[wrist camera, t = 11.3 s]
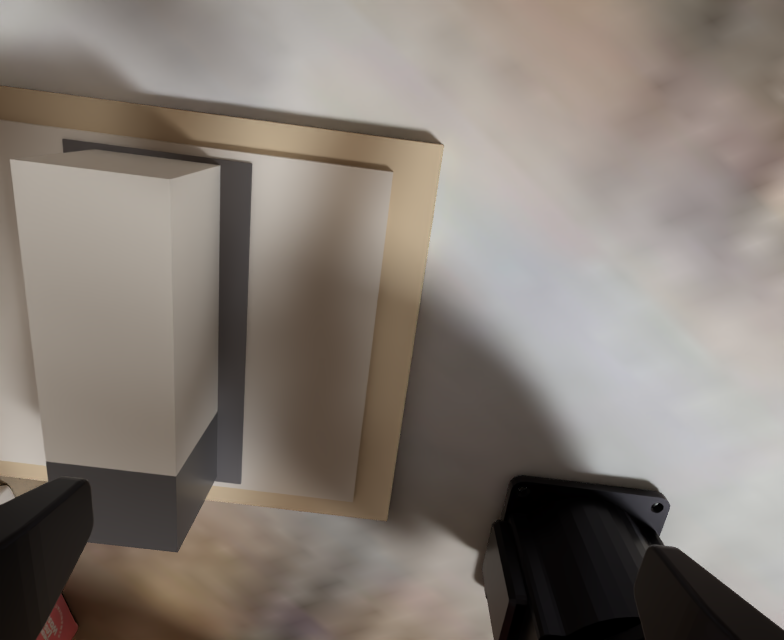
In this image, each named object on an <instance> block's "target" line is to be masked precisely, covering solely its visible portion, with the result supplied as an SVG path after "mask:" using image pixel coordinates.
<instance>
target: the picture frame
mask: <svg viewBox="0 0 784 640" xmlns="http://www.w3.org/2000/svg"><path fill="white" fill-rule="evenodd" d="M443 148H444V145H443V144H436V143H428V142H421V141H413V140H406V139H398V138H391V137H383V136H376V135H368V134H361V133H353V132H346V131H338V130H331V129H323V128H316V127H308V126H301V125H293V124H286V123H278V122H271V121H263V120H256V119H248V118H241V117H233V116H226V115H218V114H211V113H203V112H196V111H188V110H181V109H173V108H166V107H158V106H151V105H143V104H136V103H128V102H121V101H113V100H106V99H98V98H91V97H83V96H76V95H68V94H60V93H53V92H45V91H38V90H30V89H23V88H15V87H8V86H0V476H7V477H16V478H24V479H33V480H41V481H48V476H47V467H46V459H45V451H44V442H43V434H42V426H41V417H40V409H39V400H38V392H37V384H36V375H35V367H34V358H33V350H32V342H31V333H30V325H29V316H28V308H27V300H26V291H25V283H24V275H23V266H22V258H21V249H20V241H19V233H18V224H17V216H16V207H15V199H14V191H13V182H12V174H11V165H10V159H15V158H24V157H32V156H41V155H49V154H58V153H67V152H75V151H84V150H92V149H97V150H104V151H112V152H120V153H128V154H136V155H144V156H151V157H159V158H167V159H175V160H183V161H191V162H199V163H206V164H214V165H220V242H219V332H218V421H217V478H216V480H215V481H214V483H213V485H212V487H211V489H210V491H209V493H208V495H207V497H206V499H205V500H211V501H219V502H228V503H236V504H245V505H253V506H262V507H270V508H279V509H287V510H296V511H304V512H313V513H321V514H329V515H338V516H346V517H355V518H363V519H372V520H380V521H387V517H388V511H389V504H390V498H391V491H392V484H393V478H394V471H395V465H396V458H397V452H398V445H399V438H400V432H401V425H402V419H403V412H404V405H405V399H406V392H407V386H408V379H409V372H410V366H411V359H412V353H413V346H414V339H415V333H416V326H417V320H418V313H419V307H420V300H421V293H422V287H423V280H424V274H425V267H426V260H427V254H428V247H429V241H430V234H431V227H432V221H433V214H434V208H435V201H436V194H437V188H438V181H439V175H440V168H441V162H442V155H443Z"/></svg>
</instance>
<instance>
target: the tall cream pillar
mask: <svg viewBox="0 0 784 640" xmlns="http://www.w3.org/2000/svg"><path fill="white" fill-rule="evenodd" d="M10 165H11V174H12V182H13V191H14V199H15V207H16V216H17V224H18V233H19V241H20V249H21V258H22V266H23V275H24V283H25V291H26V300H27V308H28V316H29V325H30V333H31V342H32V350H33V358H34V367H35V375H36V384H37V392H38V400H39V409H40V417H41V426H42V434H43V442H44V451H45V459H46V467H47V476H48V482H49V481H52V480H54V479H56V478H58V477H62V476H67V477H76V478H84V479H86V480H88V481H89V483H90V485H91V492H92V504H93V516H94V524H93V529H92V532H91V535H90V537H89V539H88V541H87V542H91V543H99V544H108V545H117V546H126V547H135V548H144V549H153V550H161V551H170V552H178V551H179V549H180V547H181V545H182V543H183V541H184V539H185V537H186V535H187V533H188V531H189V530H190V528H191V526H192V524H193V522H194V520H195V518H196V516H197V514H198V512H199V510H200V508H201V506H202V505H203V503H204V501H205V499H206V497H207V495H208V493H209V491H210V489H211V487H212V485H213V483H214V481H215V480H216V478H217V421H218V332H219V242H220V165H214V164H206V163H199V162H191V161H183V160H175V159H167V158H159V157H151V156H144V155H136V154H128V153H120V152H112V151H104V150H97V149H92V150H84V151H75V152H67V153H58V154H49V155H41V156H32V157H24V158H15V159H10Z"/></svg>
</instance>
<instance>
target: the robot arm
mask: <svg viewBox="0 0 784 640" xmlns="http://www.w3.org/2000/svg"><path fill="white" fill-rule="evenodd" d="M520 487H527V488H526V489H525V490H523V491H519V490H518V488H520ZM655 503H658V505H656V506H652V505H653V504H655ZM669 509H670V504H669V502H668V500H667V499H666V497H665V496H664V495H663V494H662V493H660V492H657V491H649V490H640V489H632V488H624V487H616V486H607V485H599V484H591V483H582V482H574V481H566V480H557V479H549V478H541V477H533V476H524V475H522V476H517V477H514V478H513V479H512V480H511V481H510V483H509V487H508V491H507V495H506V499H505V503H504V507H503V512H502V516H501V520H497V521H496V522H495V523H494V524H493V525H492V528H491V533H490V537H489V541H488V545H487V550H486V554H485V558H484V562H483V567H482V571H483V577H484V583H485V586H484V589H485V595H486V598H487V601H488V607H489V613H490V619H491V625H492V631H493V637H494V640H784V630H783V629H781V628H780V627H779V626H778V625H776V624H775V623H774V622H772V621H771V620H770V619H769V618H767V617H766V616H765V615H763V614H762V613H761V612H760V611H758V610H757V609H756V608H754V607H753V606H752V605H751V604H749V603H748V602H747V601H745V600H744V599H743V598H742V597H740V596H739V595H738V594H736V593H735V592H734V591H732V590H731V589H730V588H729V587H727V586H726V585H725V584H723V583H722V582H721V581H720V580H718V579H717V578H716V577H714V576H713V575H712V574H711V573H709V572H708V571H707V570H705V569H704V568H703V567H702V566H700V565H699V564H698V563H696V562H695V561H694V560H692V559H691V558H690V557H689V556H687V555H686V554H685V553H683V552H682V551H681V550H679V549H678V548H676V547H671V546H664V544H663V542H662V541H661V539H660V537H659V536H660V533H661V531H662V528H663V525H664V523H665V520H666V517H667V515H668V512H669ZM93 524H94V516H93V504H92V492H91V485H90V483H89V481H88V480H86V479H84V478H76V477H67V476H62V477H58V478H56V479H54V480H52V481H49V482H47V483H45V484H43V485H41V486H39V487H37V488H35V489H33V490H31V491H28V492H26V493H24V494H22V495H20V496H18V497H16V498H14V499H12V500H9V501H7V502H5V503H3V504H1V505H0V640H36V639H37V637H38V636H39V634H40V632H41V631H42V629H43V627H44V625H45V623H46V622H47V620H48V618H49V616H50V614H51V612H52V610H53V608H54V606H55V604H56V602H57V600H58V598H59V597H60V595H61V593H62V591H63V589H64V587H65V585H66V583H67V581H68V579H69V577H70V575H71V573H72V571H73V569H74V567H75V565H76V563H77V561H78V559H79V557H80V555H81V553H82V551H83V549H84V547H85V545H86V543H87V541H88V539H89V537H90V535H91V532H92V529H93Z"/></svg>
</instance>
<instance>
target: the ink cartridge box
mask: <svg viewBox="0 0 784 640" xmlns="http://www.w3.org/2000/svg"><path fill="white" fill-rule="evenodd" d="M14 498H15V496H14V494H13V492H12V490H11V489H10V487H9V486H7V485H4V486H0V505H1V504H3V503H5V502H7V501H9V500H12V499H14ZM77 630H78V625H77V624H76V622H75V620H74V619H73V617H72V615H71V613H70V611H69V608H68V606H67V604H66V602H65V600H64V598H63V596H62V594H61V595H60V597H59V598H58V600H57V602H56V604H55V606H54V608H53V610H52V612H51V614H50V616H49V618H48V620H47V622H46V623H45V625H44V627H43V629H42V631H41V632H40V634H39V636H38V637H37V639H36V640H72V638H73V637H74V635H75V634H76V632H77Z"/></svg>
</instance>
